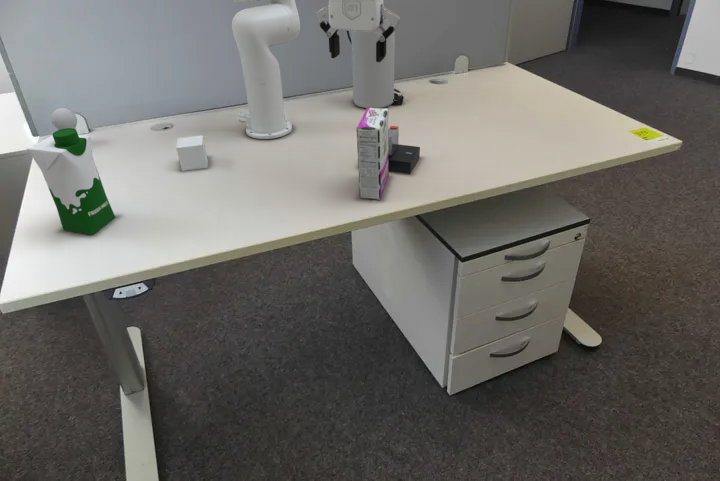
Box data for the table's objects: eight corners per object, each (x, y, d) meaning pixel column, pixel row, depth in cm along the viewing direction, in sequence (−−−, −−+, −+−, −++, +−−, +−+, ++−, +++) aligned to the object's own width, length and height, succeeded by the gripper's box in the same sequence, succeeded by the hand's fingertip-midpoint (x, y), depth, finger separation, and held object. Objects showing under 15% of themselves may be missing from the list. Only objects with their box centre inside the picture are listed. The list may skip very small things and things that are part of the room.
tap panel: (360, 168, 123) (360, 156, 122) (373, 151, 131) (373, 139, 130) (409, 175, 120) (409, 163, 118) (420, 157, 128) (420, 145, 126)
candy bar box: (367, 175, 121) (366, 106, 111) (389, 176, 120) (389, 107, 110) (357, 199, 112) (355, 126, 102) (380, 201, 111) (380, 128, 101)
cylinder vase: (374, 93, 168) (373, 9, 154) (402, 102, 160) (404, 15, 146) (345, 102, 161) (341, 16, 147) (373, 112, 153) (372, 22, 139)
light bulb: (89, 144, 140) (76, 108, 134) (66, 151, 137) (53, 114, 131) (79, 138, 143) (67, 103, 138) (57, 145, 140) (44, 109, 134)
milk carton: (93, 238, 102) (56, 143, 90) (55, 232, 104) (15, 138, 93) (122, 215, 109) (91, 124, 97) (86, 210, 111) (52, 120, 100)
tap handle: (391, 157, 121) (391, 135, 118) (383, 156, 122) (383, 134, 119) (398, 146, 126) (398, 126, 123) (390, 145, 127) (390, 125, 124)
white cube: (207, 167, 126) (202, 144, 123) (182, 171, 125) (176, 148, 122) (207, 157, 131) (202, 135, 128) (183, 160, 130) (177, 138, 127)
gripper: (305, -35, 96) (311, 60, 106) (395, -32, 91) (392, 67, 101) (321, -40, 102) (325, 50, 111) (406, -37, 97) (403, 57, 107)
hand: (357, 58), depth 106 cm, fingers open, 9 cm apart
